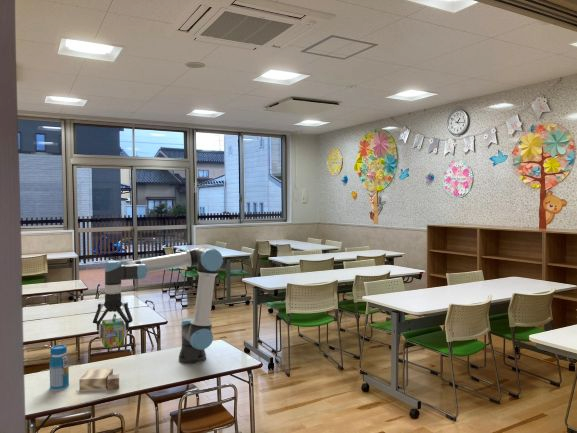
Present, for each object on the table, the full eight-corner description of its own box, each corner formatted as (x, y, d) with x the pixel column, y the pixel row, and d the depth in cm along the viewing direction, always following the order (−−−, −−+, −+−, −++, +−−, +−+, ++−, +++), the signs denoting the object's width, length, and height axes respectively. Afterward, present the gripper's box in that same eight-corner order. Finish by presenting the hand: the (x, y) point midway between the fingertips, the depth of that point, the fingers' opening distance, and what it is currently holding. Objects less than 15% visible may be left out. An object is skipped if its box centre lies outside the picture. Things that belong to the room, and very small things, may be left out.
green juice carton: (101, 343, 219) (101, 313, 218) (121, 340, 223) (120, 311, 223) (104, 348, 211) (104, 317, 210) (124, 345, 215) (124, 315, 215)
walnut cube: (118, 384, 215) (118, 374, 214) (119, 388, 210) (119, 378, 210) (107, 385, 213) (107, 375, 213) (107, 389, 208) (107, 379, 208)
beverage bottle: (51, 392, 206) (50, 350, 206) (48, 386, 213) (47, 346, 213) (70, 388, 211) (70, 347, 211) (67, 382, 218) (66, 342, 218)
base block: (113, 378, 222) (112, 368, 222) (105, 388, 210) (105, 378, 210) (88, 379, 220) (87, 369, 220) (79, 389, 209) (79, 379, 208)
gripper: (139, 290, 221) (139, 334, 222) (90, 291, 219) (90, 335, 219) (136, 293, 214) (135, 338, 214) (85, 294, 211) (85, 339, 212)
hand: (112, 336), depth 217 cm, fingers closed on green juice carton, 11 cm apart
